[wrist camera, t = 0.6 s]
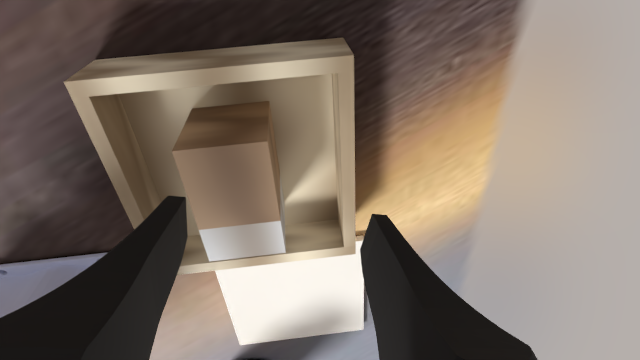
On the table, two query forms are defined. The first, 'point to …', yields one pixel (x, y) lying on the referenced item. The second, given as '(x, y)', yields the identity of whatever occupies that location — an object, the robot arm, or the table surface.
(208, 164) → the walnut block
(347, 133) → the birch crate
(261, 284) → the ceramic trivet
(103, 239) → the table surface
